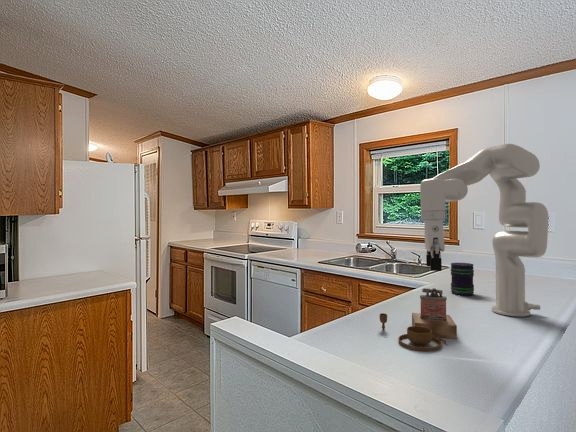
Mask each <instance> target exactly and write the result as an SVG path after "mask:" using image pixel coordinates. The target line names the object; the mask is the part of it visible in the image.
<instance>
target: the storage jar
mask: <svg viewBox="0 0 576 432" xmlns="http://www.w3.org/2000/svg"><path fill="white" fill-rule="evenodd" d="M450 275H451V282H450V291H451V294H452V295H454V294H455V296H458V295H460V296H459V297H473V296H474V293H475V292H474V291H475V288H474V287H475V285H474V276H475V270H474V263H470V262H469V263H468V262H451V263H450ZM472 295H473V296H472Z"/></svg>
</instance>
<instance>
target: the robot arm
mask: <svg viewBox="0 0 576 432" xmlns="http://www.w3.org/2000/svg"><path fill="white" fill-rule="evenodd" d="M540 167H541V165H540V161H539V158H538V157H537V156H536V155H535V154H534V153H532V152H531V151H528V150H527V149H525V148H523V147H522V146H521V145H520V146H519V145H518V144H514V143H505V144H499V145H493V146H489V147H485V148H483V149H481V150H480V151H478V152H477V153H475V154H474V155H473V156H471V157H470V158H469V159H467V160H465V162H462V163H461V164H458V165H456V166H454V167H452V168H450V169H447V170H445V171H443V172H441V173H439V174H437V175H436V176H434V177H433V178H427V179H423V180H422V181H420V190H419V191H420V193H419V195H420V222H424V246H425V249H426V255H425V256H426V257H425V258H426V263H425V264H426V266H427V267H429V268H430V271H432V272H442V271H443V270H442V268H443V267H442V266H443V264H442V254H441V252H442V253H443V252H445V250H446V249H445V248H446V246H445V231H444V229H445V228H444V222H446V203H447V202H448V203H449V202H458V201H461V200H463V199H465V197H466V196H467V194H468V190H469V189H468V186H472V185H474V184H477V183H479V182H481V181H482V180H483V179H485V178H486V177H487V176H488V175H489V176H490V177H491V178H492V180H493V181H494V182H495V184H496V186H497V187H498V190H499V209H498V221H499V224H500V225H501V226H502V227H503V226H504V227H507V228H527V229H528V230H526V231H523V230H501V231H498V232H496V233H495V234H494V235H493V237H492V241H491V242H492V249H493V251H494V258H495V259H494V260H495V305H492V306H491V311H492V312H494V313H495V314H499V315H503V316H509V317H518V318H519V317H520V318H521V317H529V316H530V315H531V310H534V311H540V310H541V305H540V304H536V303H535V304H534V303H530V302H529V303H528V302H527V301H526V268H525V265H524V262H523V261H522V259H521V257H522V258H523V257H524V258H542V257H543V256H544V255H545V254H546V251H547V249H548V236H549V235H548V233H549V221H550V220H549V217H550V216H549V212H548V208H547V207H546V206H545V205H544V204H543V203H541V202H536V201H535V202H534V201H531V202H529V201H527V197H526V196H527V190H526V188H525V186H524V185H523V183H522V182H521V181H520V180H518V179H523V178H530V177H533V176H536V174H538V172H539V171H540Z"/></svg>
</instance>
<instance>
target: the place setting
mask: <svg viewBox="0 0 576 432" xmlns="http://www.w3.org/2000/svg"><path fill="white" fill-rule="evenodd" d="M379 322H380V323H381V329H382V331H385V329H386V326H385V324H386V323H387V322H388V314H387V313H379ZM388 338H389V337H387V336H385V339H388ZM397 339H398V340H397V341H398V342H399V344H400V345H401V346H402V347H403V348H406V349H409V350H413V351H417V352H435V351H438V350H440V349H441V348H442V344H444V345H445V346H447V347H448V346H449V344H447V341H446V340H445V338H440V337H432V330H431V329H429V328H426V327H421V326H408V327H407V328H406V333H404V334H401V335H399V336H398V338H397ZM406 339H408V341H409V342H410V343H411V344H412V345H411V344H408V343H405V342H403V340H406ZM431 342H433V343H435V344H436V345H437V346H430V347H428V344H430V343H431ZM426 346H427V347H426Z"/></svg>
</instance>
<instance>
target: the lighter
mask: <svg viewBox="0 0 576 432" xmlns="http://www.w3.org/2000/svg"><path fill="white" fill-rule="evenodd" d="M443 291H444V290H443V289H437V288H433V287H432V288H429V287H428V288H426V287H425V288H424V287H423V288H422V289H421V292H422V293H425V294H420V295H419V299H420V313H421V315H420V318H421V319H424V320H433V321H447V317H446V315H447V296H444V295H443Z"/></svg>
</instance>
